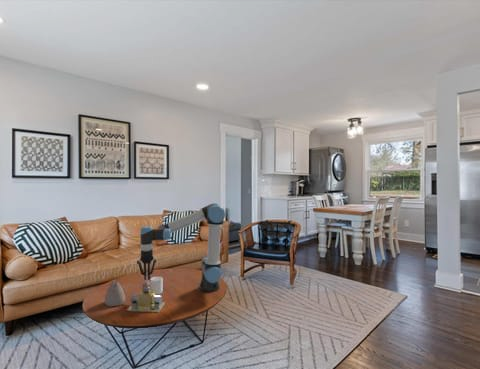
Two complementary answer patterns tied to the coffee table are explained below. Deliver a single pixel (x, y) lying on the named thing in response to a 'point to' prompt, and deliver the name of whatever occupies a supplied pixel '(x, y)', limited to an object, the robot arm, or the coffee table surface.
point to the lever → (145, 286)
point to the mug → (157, 284)
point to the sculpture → (114, 295)
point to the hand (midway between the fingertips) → (147, 284)
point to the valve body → (146, 302)
